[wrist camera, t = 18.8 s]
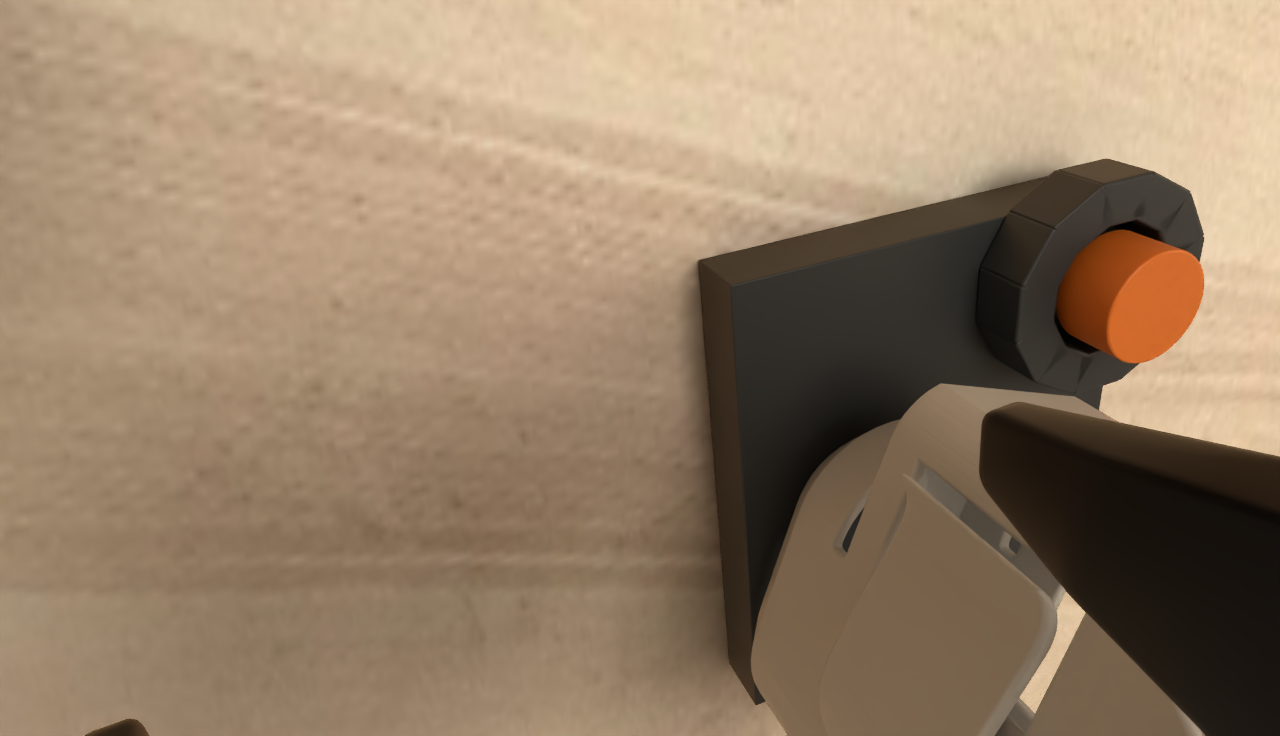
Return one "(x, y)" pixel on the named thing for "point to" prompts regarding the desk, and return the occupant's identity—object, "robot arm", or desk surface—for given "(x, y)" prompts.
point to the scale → (896, 338)
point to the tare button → (1130, 295)
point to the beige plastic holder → (932, 599)
